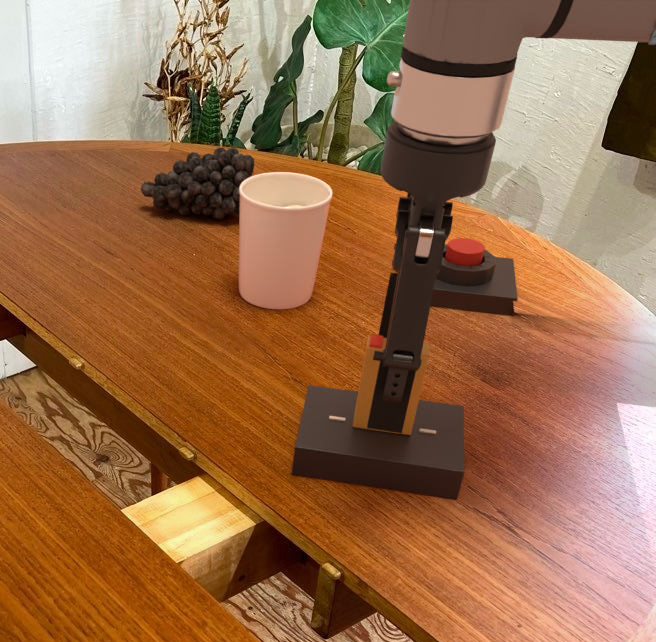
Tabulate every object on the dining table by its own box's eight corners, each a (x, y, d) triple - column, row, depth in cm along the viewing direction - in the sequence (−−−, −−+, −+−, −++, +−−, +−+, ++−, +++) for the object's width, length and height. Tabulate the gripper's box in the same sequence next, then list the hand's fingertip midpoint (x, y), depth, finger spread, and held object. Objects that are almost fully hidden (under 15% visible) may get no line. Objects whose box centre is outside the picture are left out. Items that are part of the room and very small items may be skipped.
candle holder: (215, 283, 111) (221, 181, 103) (287, 266, 114) (298, 165, 106) (262, 321, 104) (272, 214, 96) (336, 301, 107) (351, 197, 100)
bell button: (481, 254, 109) (484, 239, 108) (481, 270, 106) (485, 255, 105) (444, 250, 109) (448, 236, 108) (444, 265, 106) (447, 251, 105)
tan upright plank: (411, 422, 84) (430, 340, 79) (410, 435, 83) (429, 352, 77) (354, 414, 85) (368, 332, 80) (352, 427, 84) (367, 344, 78)
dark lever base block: (456, 432, 88) (464, 404, 86) (456, 499, 81) (465, 470, 79) (304, 411, 91) (308, 383, 89) (291, 474, 83) (295, 445, 81)
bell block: (508, 276, 112) (517, 243, 110) (512, 316, 105) (522, 283, 102) (404, 264, 115) (410, 232, 112) (400, 303, 107) (407, 270, 105)
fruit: (137, 144, 119) (258, 148, 117) (146, 144, 127) (261, 148, 125) (135, 217, 122) (253, 222, 120) (144, 212, 130) (256, 217, 128)
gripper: (396, 71, 77) (355, 308, 91) (378, 187, 59) (330, 462, 73) (492, 79, 76) (436, 318, 90) (505, 200, 57) (431, 478, 71)
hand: (388, 383), depth 81 cm, fingers open, 13 cm apart
